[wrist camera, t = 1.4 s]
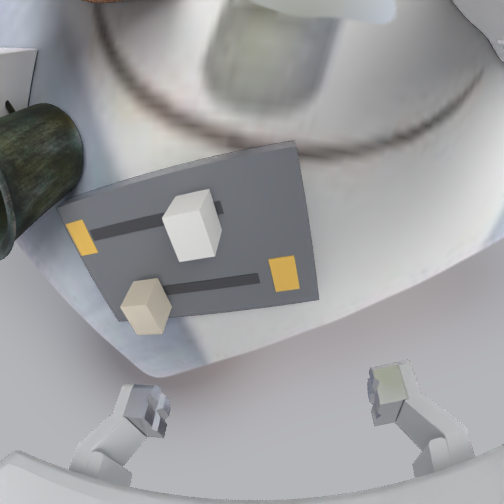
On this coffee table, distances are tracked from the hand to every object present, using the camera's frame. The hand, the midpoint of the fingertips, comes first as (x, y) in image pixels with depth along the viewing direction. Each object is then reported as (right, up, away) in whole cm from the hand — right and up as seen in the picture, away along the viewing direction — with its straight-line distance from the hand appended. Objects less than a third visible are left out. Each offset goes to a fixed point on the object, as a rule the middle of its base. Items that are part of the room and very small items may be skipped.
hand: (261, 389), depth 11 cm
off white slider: (-5, +9, +16) cm, 19 cm away
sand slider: (-11, +1, +22) cm, 24 cm away
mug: (-22, +17, +14) cm, 31 cm away
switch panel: (-7, +6, +20) cm, 22 cm away
